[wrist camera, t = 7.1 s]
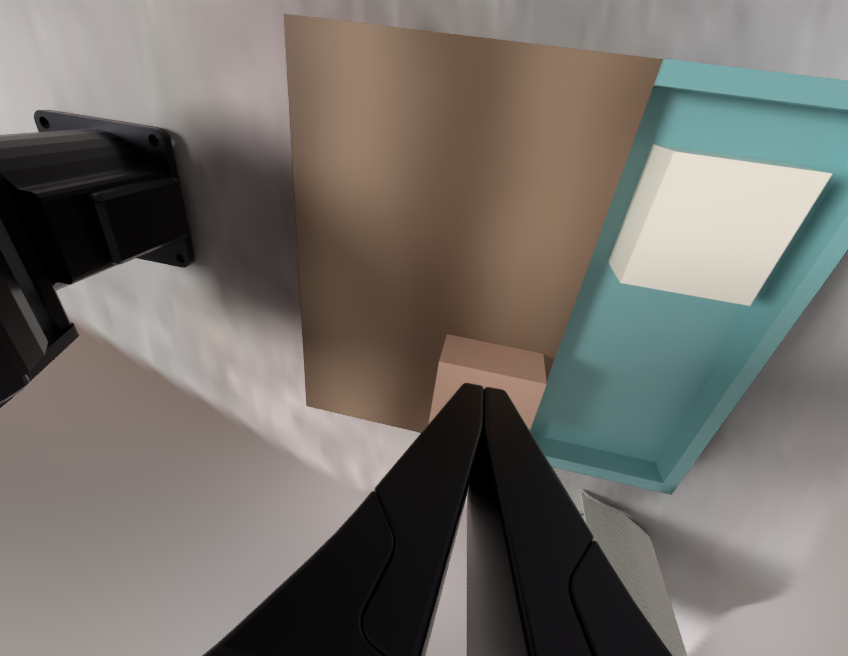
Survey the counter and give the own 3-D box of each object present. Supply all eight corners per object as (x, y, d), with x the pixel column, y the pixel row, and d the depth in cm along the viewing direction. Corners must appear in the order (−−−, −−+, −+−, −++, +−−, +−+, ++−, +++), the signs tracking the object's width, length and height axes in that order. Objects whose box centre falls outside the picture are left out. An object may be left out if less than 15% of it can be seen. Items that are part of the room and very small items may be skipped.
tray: (519, 413, 22) (519, 459, 19) (634, 66, 13) (665, 58, 10) (650, 442, 21) (671, 494, 18) (862, 94, 12) (959, 93, 10)
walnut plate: (329, 371, 23) (306, 405, 20) (324, 28, 14) (283, 14, 12) (519, 413, 22) (519, 456, 19) (634, 66, 13) (663, 59, 11)
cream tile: (607, 261, 15) (620, 283, 13) (652, 143, 12) (674, 151, 11) (721, 280, 14) (749, 305, 12) (787, 162, 12) (832, 173, 10)
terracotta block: (434, 405, 18) (426, 435, 17) (446, 334, 16) (439, 361, 15) (519, 424, 18) (519, 457, 16) (543, 353, 16) (546, 384, 14)
